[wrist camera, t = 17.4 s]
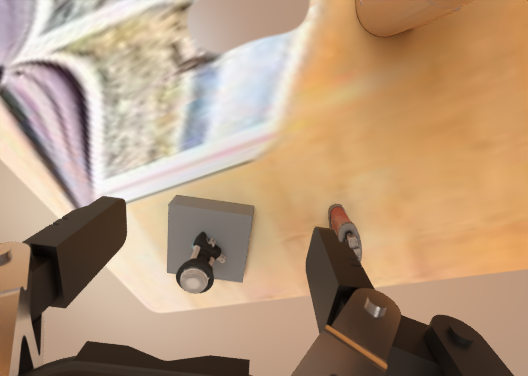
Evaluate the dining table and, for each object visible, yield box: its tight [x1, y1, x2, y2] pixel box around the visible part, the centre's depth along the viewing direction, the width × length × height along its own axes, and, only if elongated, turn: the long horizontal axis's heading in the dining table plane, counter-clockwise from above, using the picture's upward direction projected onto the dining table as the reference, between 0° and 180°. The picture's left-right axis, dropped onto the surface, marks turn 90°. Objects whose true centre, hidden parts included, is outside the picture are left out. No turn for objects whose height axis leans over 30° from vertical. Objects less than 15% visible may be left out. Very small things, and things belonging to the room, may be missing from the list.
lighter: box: [328, 204, 362, 263], centre depth 43 cm, size 8×3×10 cm, turn 15°
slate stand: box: [167, 195, 254, 283], centre depth 47 cm, size 14×14×4 cm
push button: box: [176, 232, 226, 294], centre depth 41 cm, size 7×5×10 cm
